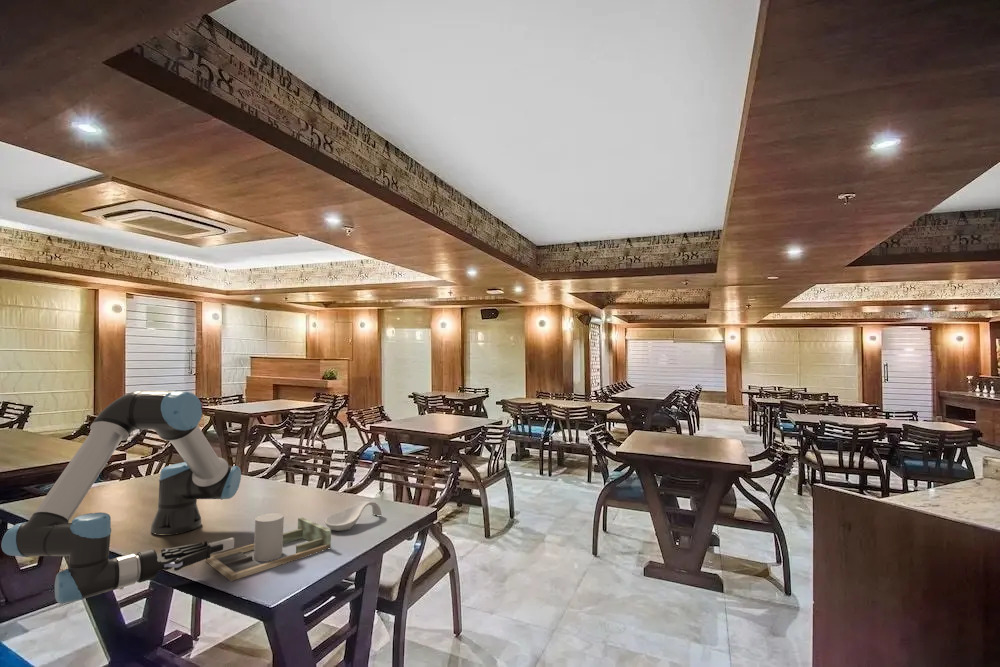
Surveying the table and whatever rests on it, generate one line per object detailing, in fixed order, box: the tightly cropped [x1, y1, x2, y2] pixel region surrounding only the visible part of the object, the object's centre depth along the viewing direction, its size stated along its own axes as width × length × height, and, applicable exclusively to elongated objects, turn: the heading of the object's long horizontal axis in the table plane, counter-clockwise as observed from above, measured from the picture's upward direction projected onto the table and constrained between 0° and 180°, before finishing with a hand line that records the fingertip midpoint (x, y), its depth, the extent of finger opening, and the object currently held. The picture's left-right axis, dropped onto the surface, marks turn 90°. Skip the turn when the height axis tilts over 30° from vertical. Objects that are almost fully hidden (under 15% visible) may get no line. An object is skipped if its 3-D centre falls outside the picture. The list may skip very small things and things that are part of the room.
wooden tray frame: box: [205, 516, 332, 582], centre depth 150 cm, size 19×30×6 cm, turn 140°
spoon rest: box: [324, 500, 382, 532], centre depth 180 cm, size 24×12×7 cm, turn 149°
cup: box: [253, 512, 285, 562], centre depth 150 cm, size 8×8×12 cm
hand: (233, 542), depth 141 cm, fingers closed
